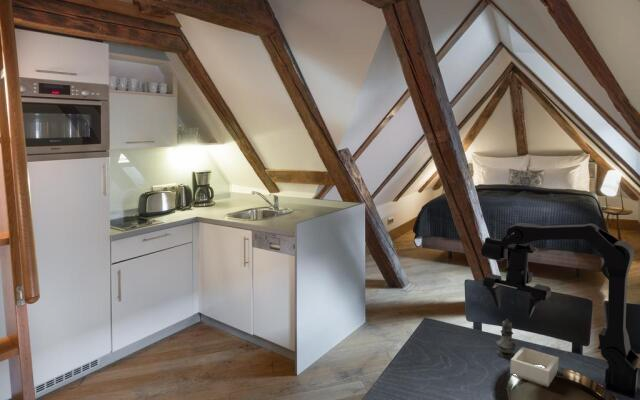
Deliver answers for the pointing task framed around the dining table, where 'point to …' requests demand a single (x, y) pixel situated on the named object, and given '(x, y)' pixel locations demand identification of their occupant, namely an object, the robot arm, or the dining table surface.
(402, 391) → the dining table surface
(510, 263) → the robot arm
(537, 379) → the box
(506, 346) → the dark grey tall piece
